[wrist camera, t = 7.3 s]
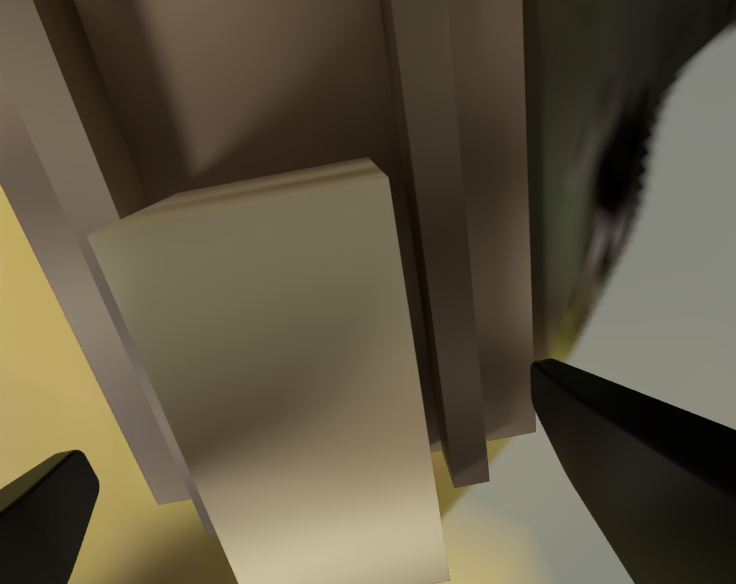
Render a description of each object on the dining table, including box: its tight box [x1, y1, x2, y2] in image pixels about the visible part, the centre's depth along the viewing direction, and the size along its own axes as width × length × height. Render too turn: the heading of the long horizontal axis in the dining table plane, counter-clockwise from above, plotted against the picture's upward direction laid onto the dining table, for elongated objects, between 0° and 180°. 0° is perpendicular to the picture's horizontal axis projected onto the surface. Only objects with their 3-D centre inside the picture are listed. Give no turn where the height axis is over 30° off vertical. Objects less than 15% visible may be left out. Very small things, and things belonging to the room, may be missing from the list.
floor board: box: [0, 0, 536, 536], centre depth 9 cm, size 18×12×5 cm, turn 10°
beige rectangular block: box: [87, 157, 450, 584], centre depth 10 cm, size 9×4×4 cm, turn 10°
